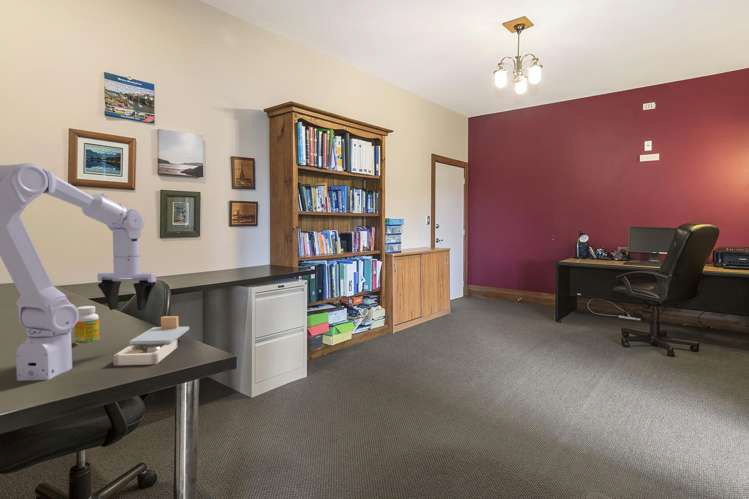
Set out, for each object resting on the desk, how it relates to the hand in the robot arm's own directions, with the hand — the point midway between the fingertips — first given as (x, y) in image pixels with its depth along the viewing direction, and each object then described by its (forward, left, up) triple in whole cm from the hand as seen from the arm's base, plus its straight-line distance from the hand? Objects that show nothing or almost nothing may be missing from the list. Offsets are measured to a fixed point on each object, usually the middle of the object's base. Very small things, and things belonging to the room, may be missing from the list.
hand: (127, 309), depth 104 cm
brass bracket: (-12, -7, -10) cm, 17 cm away
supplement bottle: (+7, +14, -11) cm, 19 cm away
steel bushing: (-9, -10, -9) cm, 16 cm away
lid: (0, -8, -7) cm, 11 cm away
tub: (-8, -8, -10) cm, 16 cm away
